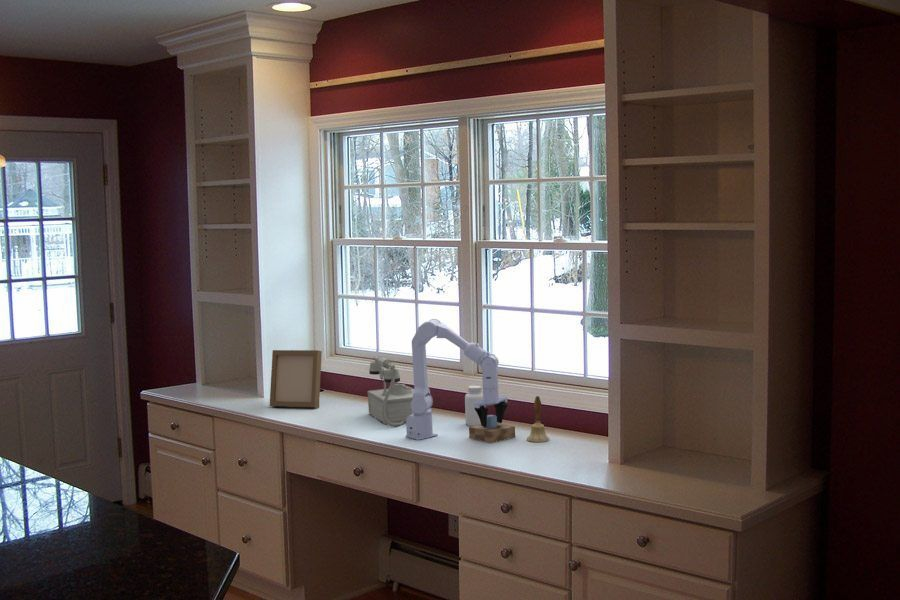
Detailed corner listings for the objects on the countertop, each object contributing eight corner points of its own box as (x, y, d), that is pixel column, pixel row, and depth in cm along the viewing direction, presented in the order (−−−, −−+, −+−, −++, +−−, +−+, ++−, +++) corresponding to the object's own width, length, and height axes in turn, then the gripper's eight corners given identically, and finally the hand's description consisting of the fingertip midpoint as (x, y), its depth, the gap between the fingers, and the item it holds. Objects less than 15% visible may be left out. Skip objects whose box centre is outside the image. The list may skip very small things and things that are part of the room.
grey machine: (433, 423, 389) (430, 360, 387) (383, 429, 382) (380, 365, 379) (407, 408, 419) (405, 350, 417) (361, 413, 412) (358, 355, 410)
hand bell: (551, 437, 358) (550, 394, 356) (547, 442, 350) (546, 398, 348) (529, 436, 360) (527, 394, 358) (524, 442, 352) (523, 398, 351)
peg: (491, 439, 358) (491, 417, 357) (484, 437, 361) (483, 416, 360) (499, 437, 361) (499, 415, 360) (492, 435, 364) (491, 414, 363)
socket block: (490, 443, 353) (490, 432, 352) (469, 437, 362) (468, 427, 361) (515, 437, 360) (514, 426, 360) (493, 432, 369) (493, 421, 369)
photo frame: (314, 409, 424) (312, 352, 422) (269, 408, 431) (266, 351, 429) (328, 402, 438) (326, 347, 436) (284, 402, 445) (282, 347, 443)
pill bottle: (489, 425, 381) (488, 387, 380) (470, 427, 378) (469, 389, 377) (481, 421, 389) (479, 384, 387) (462, 423, 386) (461, 386, 384)
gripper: (482, 392, 352) (483, 429, 353) (512, 386, 361) (513, 422, 362) (470, 389, 357) (471, 426, 358) (499, 384, 366) (500, 419, 367)
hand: (491, 424), depth 360 cm, fingers open, 7 cm apart
